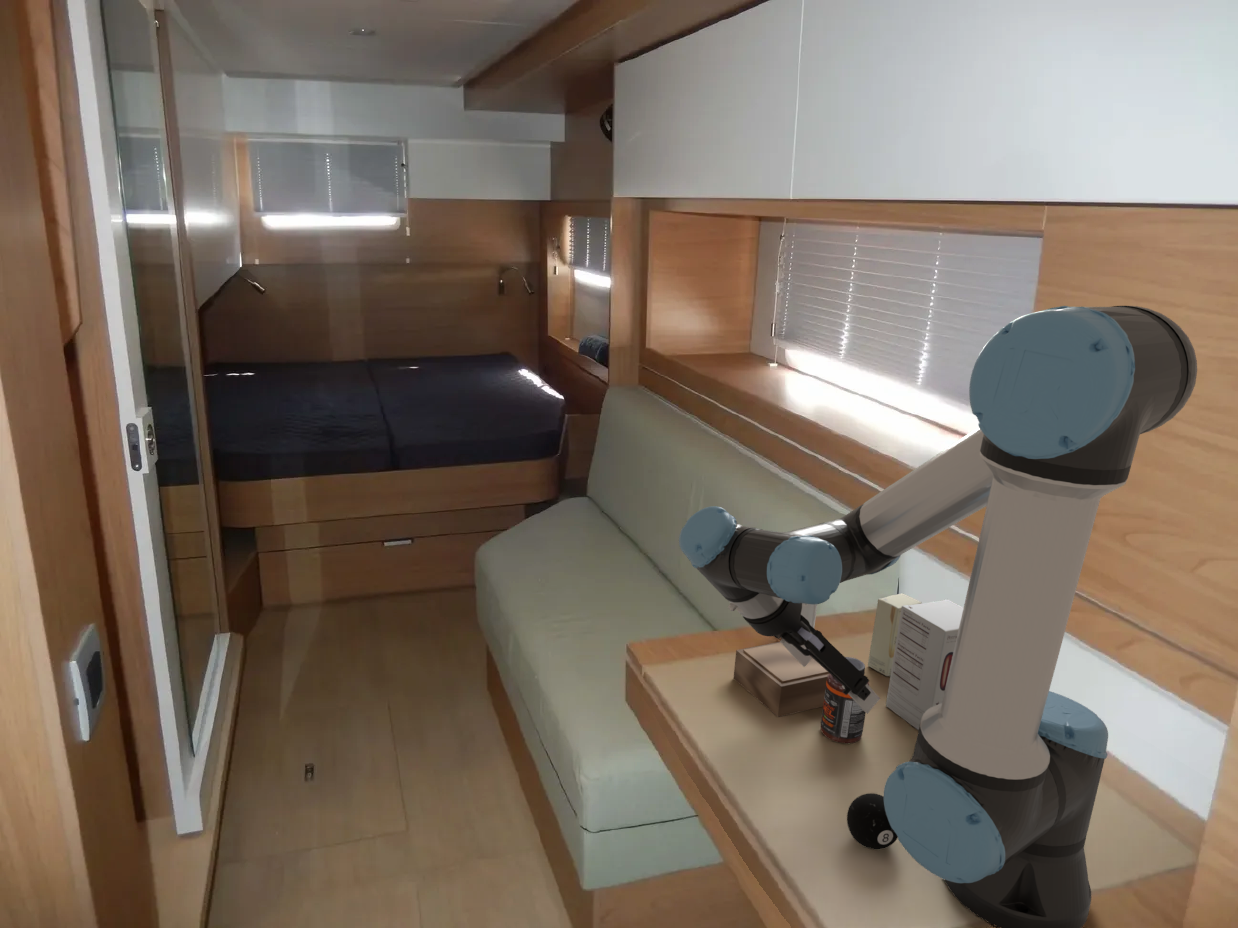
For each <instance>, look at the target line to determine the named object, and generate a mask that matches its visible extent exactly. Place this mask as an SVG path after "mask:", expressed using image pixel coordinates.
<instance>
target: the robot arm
mask: <svg viewBox="0 0 1238 928" xmlns="http://www.w3.org/2000/svg"><path fill="white" fill-rule="evenodd" d="M973 365H974V366H973V368H972V371H971V374H970V381H969V388H968V389H969V391H968V394H969V403H970V409H971V413H972V414H973V415H974V416H975V417H976V419H977V421H978V427H977V428H975V429H973V430H972V431H970V432H969V433H967V434H966V435H964V436H962V437H961V438H960V439H958V440H957V441H955V442H953V443H952V444H951V445H950V446H948V447H946V448H944V449H943V450H942V451H940V452H939V453H938V454H936V455H935V456H933V457H931V458H929V459H928V460H927V461H925V462H923V463H922V464H920V465H919V466H918V467H916V468H915V469H913V470H912V471H910V472H908V473H907V474H905V475H904V476H902V477H901V478H900V479H897V480H896V481H894V482H893V483H892V484H890V485H889V486H887V487H886V488H884V489H883V490H881V491H880V492H878V493H877V494H875V495H873V496H872V497H871V498H868V500H866V501H865V502H864V503H863V504H861V505H859V506H858V507H856V508H855V509H853V510H851V511H850V512H848V513H847V514H845V515H844V516H841V517H840V518H837V519H834V520H829V521H825V522H821V523H817V524H813V525H810V526H806V527H802V528H801V527H800V528H798V529H797V528H796V529H793V530H789V531H774V530H767V529H762V528H757V527H753V526H745V525H742V524H740V523H739V522H738V521H737V518H736V517H735V516H733V515H731V514H730V513H729V512H728V511H727V510H726V508H723V507H721V506H716V505H713V506H712V505H710V506H707V507H703V508H702V509H700V510H698V511H696V512H695V513H693V514H692V515H691V516H690V517H689V518H688V519H687V520H686V523H685V524H684V526H683V527H682V528H681V529H680V530H681V531H680V533H679V537H678V543H679V544H678V545H679V549H680V550H681V552H682V553H683V554H684V555H685V556H686V558H687V559H688V561H689V562H690V563H691V566H692V567H693V568H694V569H697V571H698V572H699V573H700V574H701V575H702V576H703V577H704V578H705V579H706V580H707V581H708V582H709V583H710V584H711V585H712V586H713V587H714V588H715V589H716V591H718V592H719V594H720V595H721V596H723V598H725V600H726V601H727V602H729V604H728V606H727V609H728V610H730V612H735V610H736V611H737V612H738V614H740V616H742V618H743V620H745V621H746V622H747V623H748V624H749V626H750V627H751V628H752V629H753V630H754V631H755V632H756V633H757V634H759V635H761V636H764V637H774V638H775V639H777V640H779V642H781V643H782V644H783V645H784V647H785V648H786V649H787V650H788V651H789V652H790V653H791V654H792V655H793V656H794V657H795V658H796V659H797V661H798V662H799V663H800V664H801V665H802V666H804V667H805V666H806V665H807V664H808V663H809V661H810V660H811V659H812V658H813V659H814V660H815V661H817V662H818V663H819V664H820V665H821V666H822V667H823V668H824V669H825V670H827V671H828V672H829V673H830V674H831V675H832V676H833V677H834V678H835V679H837V680H838V681H839V682H840V683H841V684H842V688H843V689H844V690H843V691H842V692H843V693H844V694H845V695H847V694H849V695H850V696H851V697H852V699H853V700H854V701H855V702H856V703H857V704H858V705H859V706H860V707H861V709H862V710H863V711H864V712H866V715H867V714H869V712H870V711H871V710H872V709H873V708H874V706H875V705H877V704H878V702H879V701H880V700H881V698H880V696H879V695H878V694H877V693H876V692H875V691H874V690H873V688H872V687H871V686H870V684H869V685H868V684H867V683H868V682H869V683H870V680H869V678H868V676H866V675H865V674H864V675H863V674H862V673H861V672H860V671H859V670H858V669H857V668H856V667H855V666H854V665H853V664H852V663H851V662H850V661H849V660H847V659H846V658H845V657H846V656H844V654H842V653H841V652H840V650H838V649H837V647H835V645H833V644H832V643H831V642H830V641H829V640H828V639H827V638H826V637H825V636H824V635H823V634H822V631H820V630H818V629H815V627H814V628H813V627H812V626H811V625H810V623H809V621H808V620H807V619H806V618H805V617H803V616H802V615H801V611H802V603H805V604H817V605H820V604H823V603H825V602H827V601H828V600H830V597H831V595H832V594H835V593H836V591H837V590H838V588H839V585H840V584H841V583H844V582H846V581H850V580H853V579H857V578H861V577H863V576H868V575H874V574H877V573H880V572H882V571H884V570H886V569H887V568H890V567H891V566H893V565H894V564H896V563H897V561H899V559H900V558H901V555H903V554H905V553H906V552H909V551H911V550H912V549H913V548H915V547H917V546H919V545H921V544H922V543H924V542H926V541H927V540H930V539H931V538H933V537H935V536H936V535H938V534H940V533H942V532H944V531H946V530H947V529H949V528H951V527H953V526H954V525H956V524H958V523H960V522H961V521H964V519H966V518H968V517H970V516H972V515H973V514H976V513H977V512H979V511H981V510H982V509H984V508H986V509H985V513H984V517H983V521H982V526H981V529H980V533H979V539H978V544H977V547H976V551H975V556H974V561H973V565H972V569H971V573H970V578H969V581H968V586H967V592H966V595H965V600H964V604H963V612H962V617H961V621H960V626H959V630H958V634H957V639H956V643H955V648H954V652H953V656H952V661H951V665H950V670H949V674H948V678H947V683H946V687H945V692H944V696H943V700H942V703H941V704H938V705H936V706H933V707H931V708H929V709H928V710H927V711H926V712H925V713H924V714H923V716H922V719H921V722H920V726H919V730H917V735H916V742H915V744H914V745H915V746H914V749H913V753H912V756H911V757H910V760H909V761H905V762H902V763H900V764H898V765H897V766H896V768H895V770H893V771H892V772H891V773H890V774H889V775H888V777H887V779H886V781H885V784H884V788H883V796H884V806H885V811H886V815H887V818H888V821H889V823H890V825H891V828H892V829H893V830H894V831H895V833H896V834H897V836H898V838H897V840H898V841H899V843H900V844H901V846H902V847H903V848H904V850H905V851H906V852H907V853H908V855H910V856H911V858H912V859H913V860H914V861H916V862H917V864H918V865H920V866H921V867H923V868H924V869H925V870H927V871H928V872H930V873H931V874H932V875H935V876H936V877H938V878H940V879H942V880H944V882H945V885H946V886H947V888H948V889H949V891H950V892H951V893H952V895H953V896H954V897H955V898H956V899H957V900H958V901H959V902H960V903H961V904H962V905H963V906H964V907H966V908H967V909H968V910H970V912H971V913H972V914H975V915H976V916H977V917H980V918H981V919H982V920H984V921H985V922H987V923H989V924H991V925H993V926H995V927H998V928H1084V925H1085V924H1086V922H1087V920H1088V916H1089V911H1090V908H1091V904H1092V890H1091V885H1090V881H1089V874H1088V867H1087V860H1086V859H1087V858H1086V852H1085V845H1086V839H1087V835H1088V832H1089V827H1090V823H1091V818H1092V815H1093V811H1094V805H1095V801H1096V797H1097V793H1098V789H1099V784H1100V780H1101V776H1102V772H1103V768H1104V763H1105V759H1107V757H1108V752H1107V747H1108V741H1109V730H1108V727H1107V725H1106V724H1105V723H1104V720H1102V718H1101V717H1099V716H1098V715H1097V714H1096V713H1095V712H1094V711H1093V710H1091V709H1090V708H1088V707H1087V706H1085V705H1083V704H1082V703H1080V702H1078V701H1075V700H1073V699H1071V698H1070V697H1066V696H1064V695H1062V694H1059V693H1057V692H1054V691H1050V689H1051V685H1052V681H1053V678H1054V674H1055V670H1056V667H1057V663H1058V659H1059V655H1060V652H1061V648H1062V644H1063V640H1064V636H1065V633H1066V629H1067V625H1068V621H1069V619H1070V618H1069V617H1070V615H1071V610H1072V607H1073V603H1074V599H1075V596H1076V592H1077V589H1078V588H1077V587H1078V585H1079V580H1080V577H1081V572H1082V568H1083V565H1084V563H1085V562H1084V561H1085V557H1086V554H1087V550H1088V546H1089V543H1090V539H1091V535H1092V532H1093V529H1094V528H1093V527H1094V524H1095V520H1096V517H1097V514H1098V509H1099V506H1100V503H1101V499H1102V498H1104V496H1106V495H1108V494H1109V493H1112V492H1113V491H1116V490H1117V489H1119V488H1122V487H1123V486H1125V485H1126V483H1127V481H1128V479H1129V476H1130V472H1131V468H1132V464H1133V460H1134V458H1135V457H1134V456H1135V452H1136V448H1137V446H1138V442H1139V438H1140V435H1142V434H1145V433H1150V432H1152V431H1154V430H1155V429H1158V428H1160V427H1162V426H1163V425H1165V424H1166V423H1168V422H1170V421H1171V420H1172V419H1174V418H1175V417H1176V416H1177V415H1178V413H1179V412H1180V411H1181V410H1182V409H1183V408H1184V407H1185V405H1187V402H1188V401H1189V399H1190V397H1191V396H1192V394H1193V392H1194V389H1195V387H1196V381H1197V373H1198V361H1197V357H1196V352H1195V348H1194V345H1193V344H1192V342H1191V340H1190V338H1189V336H1188V335H1187V333H1185V331H1184V329H1182V327H1181V326H1180V325H1178V324H1177V323H1176V322H1175V321H1174V320H1173V319H1171V318H1169V317H1168V316H1166V315H1165V314H1163V313H1161V312H1158V311H1155V310H1153V309H1150V308H1148V307H1142V306H1138V305H1113V306H1112V305H1111V306H1068V305H1060V306H1056V307H1055V306H1054V307H1049V308H1047V309H1043V310H1040V311H1036V312H1032V313H1028V314H1024V315H1022V316H1020V317H1018V318H1016V319H1014V320H1012V321H1010V322H1009V323H1007V324H1006V325H1005V326H1003V327H1002V328H1000V329H999V330H998V331H997V332H995V334H994V335H993V336H991V338H989V340H988V341H987V343H986V344H985V345H984V346H983V348H982V349H981V351H980V352H979V354H978V356H977V357H976V361H975V363H974V364H973ZM810 632H811V633H812V634H811V633H810Z"/></svg>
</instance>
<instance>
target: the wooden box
mask: <svg viewBox="0 0 1238 928" xmlns="http://www.w3.org/2000/svg"><path fill="white" fill-rule="evenodd" d="M733 670H734V671H733V679H734V680H735V682H736V683H738V684H739V685H741V686H742V687H743V688H744V689H745V690H746V691H747V692H749V694H751V695H752V696H753V697H754V698H755V699H756V700H757V701H759V702H760V703H761V704H762V705H764V707H766V709H768V710H769V711H770V712H772V713H773V714H774V715H775V716H776V717H783V716H788V715H791V714H796V713H800V712H805V711H810V710H813V709H817V708H823V703H824V695H825V688H826V681H827V677H828V675H829V672H828V671H827V670H825V669H824V668H823V667H822V666H821V665H820V664H819V663H818V662H817V661H815V660H814V659H813V658H812V659H811V660H810V661H809V663H808V664H807V665H806V666H805V667H804V666H802V665H801V664H800V663H799V662H798V661H797V659H796V658H795V657H794V656H793V655H792V654H791V653H790V652H789V651H788V650H787V649H786V648H785V647H784V645H783V644H782V643H781V642H780V641H778V642H771V643H768V644H766V643H765V644H762V645H755V646H752V647H745V648H739V649H736V651H735V661H734V668H733Z"/></svg>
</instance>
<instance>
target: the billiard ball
mask: <svg viewBox="0 0 1238 928" xmlns="http://www.w3.org/2000/svg"><path fill="white" fill-rule="evenodd" d="M846 824H847V827H848V830H849V833H850V835H851V836H852V838H853V839H854V840H855V841H856V842H857V843H858V844H859V845H861V846H862V847H865V848H867V849H869V850H870V849H871V850H875V851H877V850H879V851H880V850H885V849H886V848H888V847H890V846H892V845H893V844H895V842H896V841H897V840H898V836H897V834H896V833H895V831H894V830H893V829H892V828H891V825H890V823H889V821H888V818H887V815H886V811H885V806H884V795H881V794H878V793H873V792H871V793H869V792H868V793H864V794H861V795H859V796H857V797H856V798H854V800H852V802H851V803H850V805H849V807H848V809H847V813H846Z"/></svg>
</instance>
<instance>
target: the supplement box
mask: <svg viewBox="0 0 1238 928" xmlns="http://www.w3.org/2000/svg"><path fill="white" fill-rule="evenodd" d="M963 608H964V606H962V605H959V604H958V603H956V602H953V601H952V600H950V599H948V598H947V599H946V598H945V599H942V600H936V601H930V602H929V601H928V602H922V603H921V604H914V605H904V606H902V607H901V614H900V620H899V626H898V632H897V639H896V645H895V652H894V657H893V664H892V670H891V675H890V676H889V677H890V678H889V683H888V689H887V694H886V695H887V697H886V700H885V706H886V707H887V708H888V709H889V710H891V711H892V712H893V713H895V714H896V715H898V716H899V717H901V719H903V720H904V721H905V722H907V723H908V724H909V725H910V726H912V727H913V728H914V729H916V730H917V731H919V726H920V722H921V719H922V716H923V714H924V713H925V712H926V711H927V710H928V709H929V708H931V707H933V706H936V705H938V704H941V703H942V700H943V696H944V692H945V687H946V683H947V678H948V674H949V670H950V665H951V661H952V656H953V652H954V648H955V643H956V639H957V634H958V630H959V626H960V621H961V617H962V612H963Z"/></svg>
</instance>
